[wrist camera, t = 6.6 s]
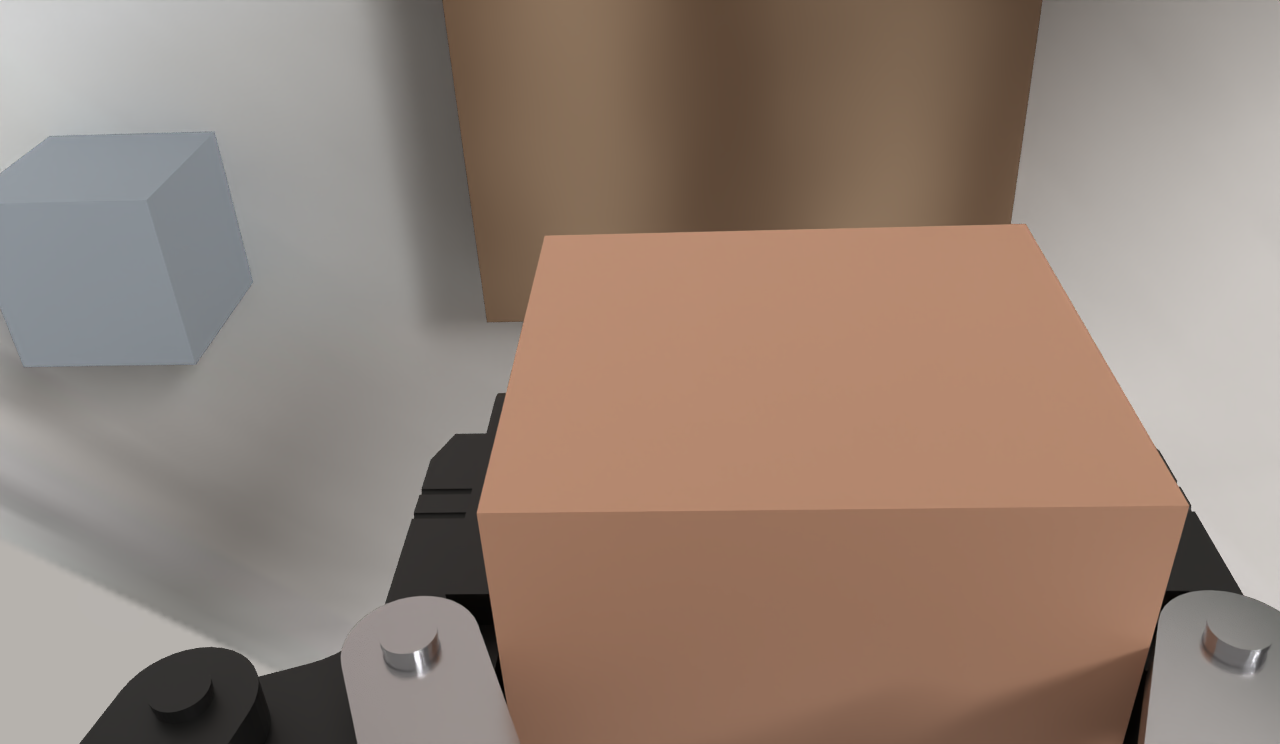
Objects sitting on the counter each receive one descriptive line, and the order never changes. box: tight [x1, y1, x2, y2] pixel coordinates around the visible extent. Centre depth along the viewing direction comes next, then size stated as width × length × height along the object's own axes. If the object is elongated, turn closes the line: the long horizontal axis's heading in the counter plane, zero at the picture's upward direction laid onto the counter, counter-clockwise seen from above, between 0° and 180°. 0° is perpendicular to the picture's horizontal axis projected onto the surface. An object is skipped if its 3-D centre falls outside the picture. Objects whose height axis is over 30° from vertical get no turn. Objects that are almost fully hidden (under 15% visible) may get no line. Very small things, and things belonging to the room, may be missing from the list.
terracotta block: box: [477, 224, 1189, 744], centre depth 12 cm, size 6×6×5 cm
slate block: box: [0, 132, 253, 367], centre depth 29 cm, size 4×4×4 cm
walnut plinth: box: [442, 0, 1042, 322], centre depth 27 cm, size 13×12×3 cm
